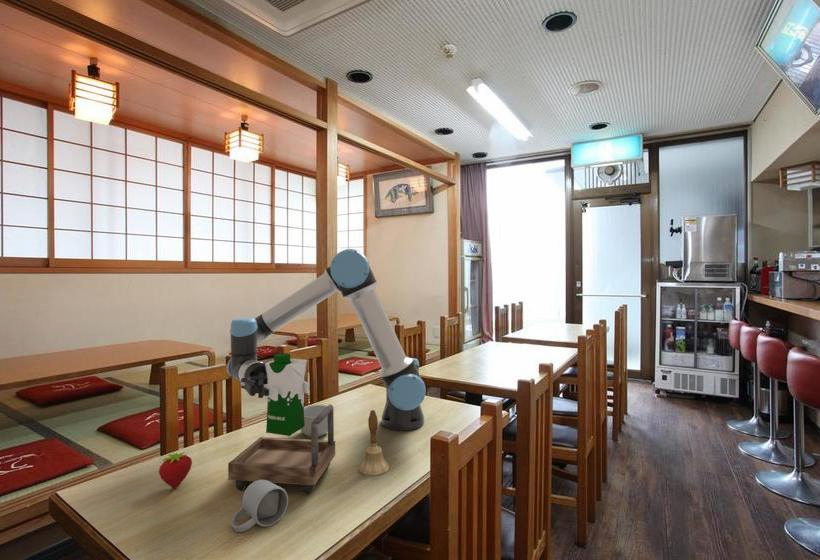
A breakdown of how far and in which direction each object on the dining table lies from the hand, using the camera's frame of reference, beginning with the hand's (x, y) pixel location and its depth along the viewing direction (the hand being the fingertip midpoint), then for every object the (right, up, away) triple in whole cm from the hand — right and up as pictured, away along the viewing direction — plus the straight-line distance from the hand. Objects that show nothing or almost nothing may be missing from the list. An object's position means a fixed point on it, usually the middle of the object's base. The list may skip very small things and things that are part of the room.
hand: (292, 391), depth 102 cm
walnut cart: (-3, -24, +4) cm, 24 cm away
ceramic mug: (-3, -24, -14) cm, 28 cm away
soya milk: (-3, -11, +4) cm, 12 cm away
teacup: (-3, -23, +33) cm, 41 cm away
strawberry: (-29, -24, -1) cm, 38 cm away
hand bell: (+20, -24, +9) cm, 32 cm away
